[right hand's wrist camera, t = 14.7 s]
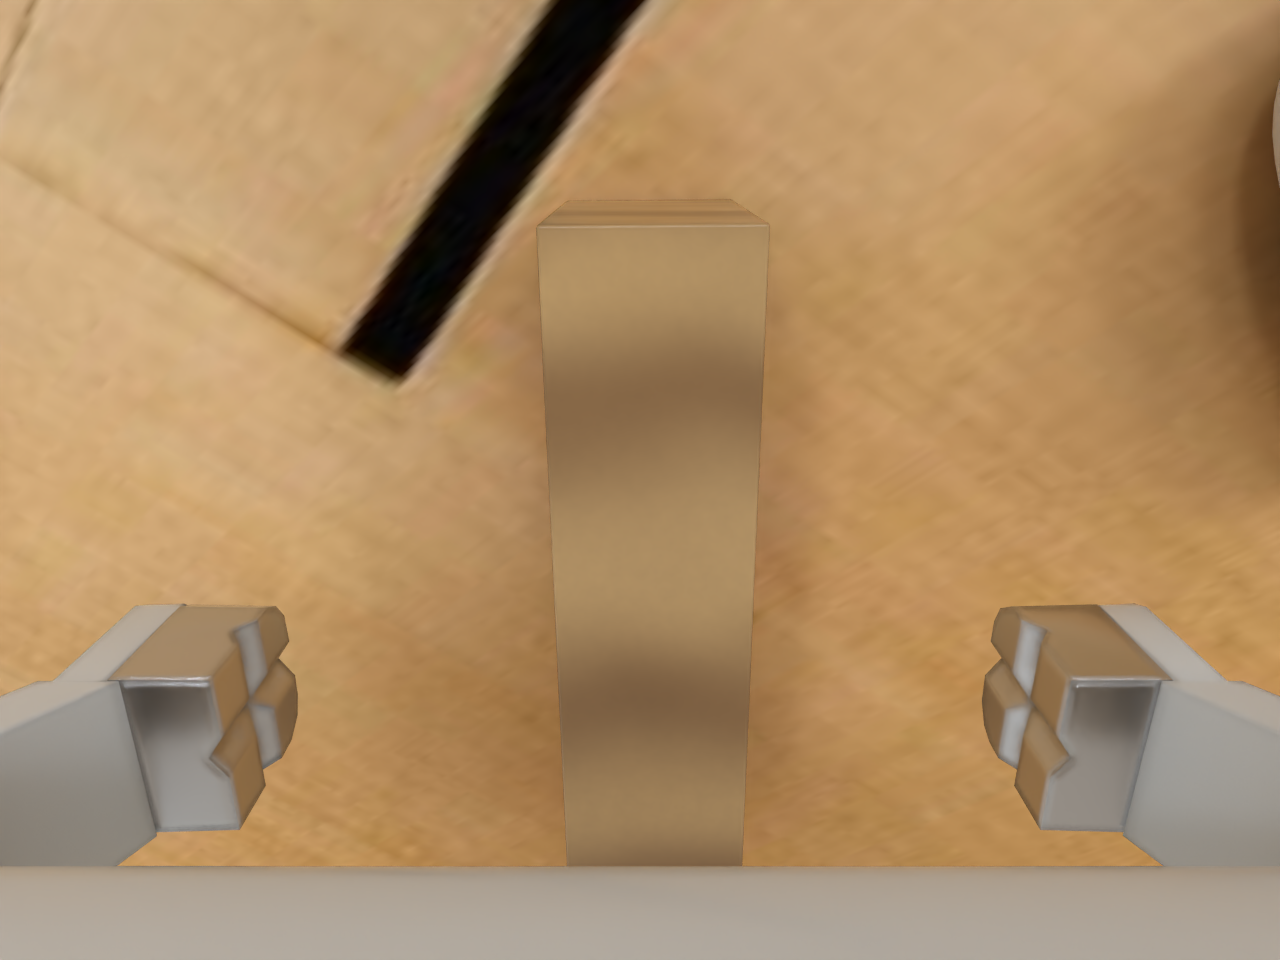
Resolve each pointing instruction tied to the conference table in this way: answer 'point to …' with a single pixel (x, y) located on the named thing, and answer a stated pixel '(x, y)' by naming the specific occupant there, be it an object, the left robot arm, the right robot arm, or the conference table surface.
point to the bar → (653, 518)
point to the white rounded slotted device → (1277, 131)
